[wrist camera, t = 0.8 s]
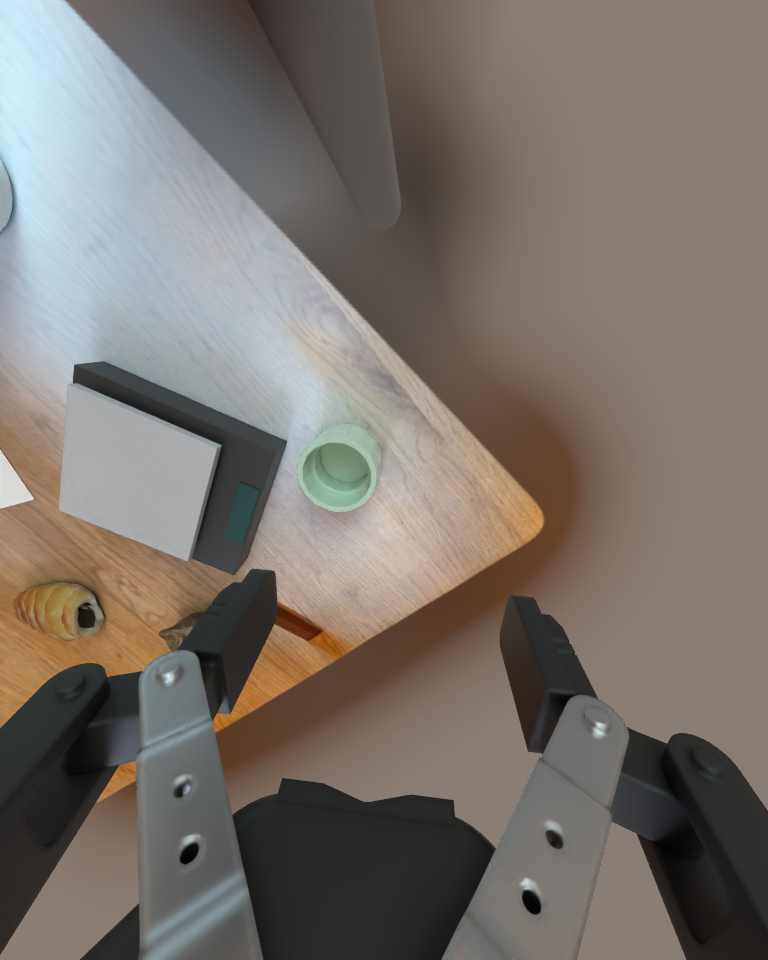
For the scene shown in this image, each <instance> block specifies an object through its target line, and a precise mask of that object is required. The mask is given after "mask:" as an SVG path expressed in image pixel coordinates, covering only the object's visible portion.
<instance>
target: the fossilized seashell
mask: <svg viewBox="0 0 768 960" xmlns="http://www.w3.org/2000/svg"><path fill="white" fill-rule="evenodd" d="M204 614H205V613H202V612H200V613H194V614H191V615H189V616H187V617H185V618H184V619H182V620H181V621H180V622H178V623H177V624H176V625H175V626H173V627H171V628H168V629H165V630H162V631H160V633H159V636H160V637H162V638H163V639H164V640H165V641H166V643H167V645H168V646H169V648H170V649H171V651H176V650H177V649H178V647H179V646H180V645H181V643H182V642H183V641H184V639H185V638H186V637H187V635H188V634H189V633H190V631H191V630H192V629H193V627H194V626H195V625H196V623H197V622H198V621H199V619H200V618H201V617H202V615H204Z"/></svg>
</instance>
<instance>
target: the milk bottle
mask: <svg viewBox="0 0 768 960" xmlns="http://www.w3.org/2000/svg"><path fill="white" fill-rule="evenodd" d="M12 201H13V197H12V190H11V184H10V181H9V177H8V174H7V172H6V169H5V167H4V165H3V162H2V161H1V159H0V232H1V231H2V229H3V228H4V227H5V226H6V225H7V223H8V221H9V219H10V216H11V211H12Z"/></svg>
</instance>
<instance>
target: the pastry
mask: <svg viewBox="0 0 768 960" xmlns="http://www.w3.org/2000/svg"><path fill="white" fill-rule="evenodd" d="M14 607H15V610H16V612H15V613H16V616H17V618H18V619H19V620H20V621H21V622H23V623H25V624H27V625H29V626H30V627H31V628H32V629H36V630H37V631H39V632H40V633H41V634H43V635H47V636H48V637H50V638H51V639H58V638H62V639H64V640H65V641H72V640H76V639H78V638H81V637H87V636H90V635H92V634H97V633H98V632H99V631H100V630H101V628H102V625H103V622H104V621H105V617H104V615H103V612H102V610H101V608H100V607H99V605H98V604H97V601H96V598H95V596H94V595H93V594H92V592H90V591H89V590H88V589H87V588H86V587H83V586H81V585H78V584H76V583H74V584H67V583H65V582H61V583H60V582H58V583H51V584H44V585H39V586H34V587H31V588H29V589H27V590H26V591H24V592H21V593H20V594H19V595H18V596H17V597H16V598H15V600H14Z"/></svg>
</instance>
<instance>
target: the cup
mask: <svg viewBox="0 0 768 960" xmlns="http://www.w3.org/2000/svg"><path fill="white" fill-rule="evenodd" d="M381 458H382V454H381V451H380V448H379V446H378V444H377V441H376V440H375V439H374V438H373V437H372V436H371V435H370V434H369V433H368V432H367V431H366V430H365V429H363V428H360V427H358V426H356V425H354V424H336V425H333V426H330V427H328V428H326V429H324V430H323V431H322V432H321V433H320V434H319V435H318V436H317V437H316V438H315V439H314V440H313V441H312V443H311V444H310V445H309V446H308V447H307V448H306V449H305V450H304V451H303V452H302V454H301V457H300V459H299V462H298V465H297V474H298V482H299V484H300V486H301V488H302V490H303V492H304V494H305V495H306V496H307V497H308V498H309V499H310V500H311V501H312V502H313V503H314V504H315V505H317V506H319V507H321V508H324V509H326V510H329V511H334V512H347V511H350V510H354V509H357V508H359V507H361V506H362V505H363V504H364V503H365V502H367V501H368V500H369V499H370V498H371V496H372V494H373V492H374V490H375V487H376V485H377V481H378V477H379V473H380V470H381Z"/></svg>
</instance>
